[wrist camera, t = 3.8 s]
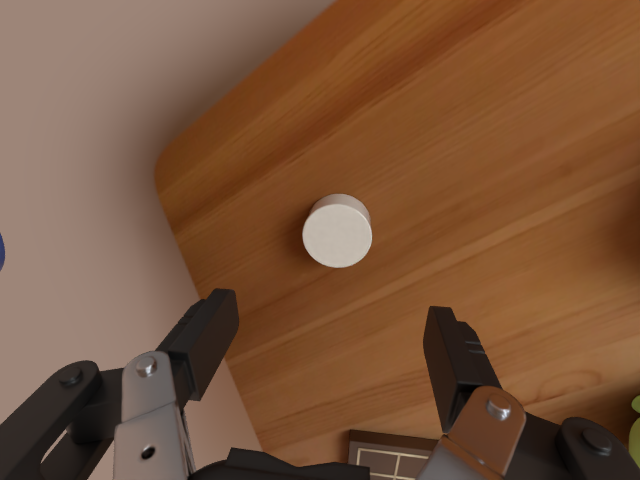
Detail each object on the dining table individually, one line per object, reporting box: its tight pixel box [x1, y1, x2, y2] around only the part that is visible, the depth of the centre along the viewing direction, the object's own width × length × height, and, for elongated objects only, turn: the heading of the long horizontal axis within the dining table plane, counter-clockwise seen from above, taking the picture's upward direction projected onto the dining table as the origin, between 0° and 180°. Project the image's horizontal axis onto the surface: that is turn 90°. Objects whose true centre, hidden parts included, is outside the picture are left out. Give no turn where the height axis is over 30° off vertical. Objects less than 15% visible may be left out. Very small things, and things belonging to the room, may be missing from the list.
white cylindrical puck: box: [302, 194, 372, 268], centre depth 21 cm, size 5×5×2 cm
